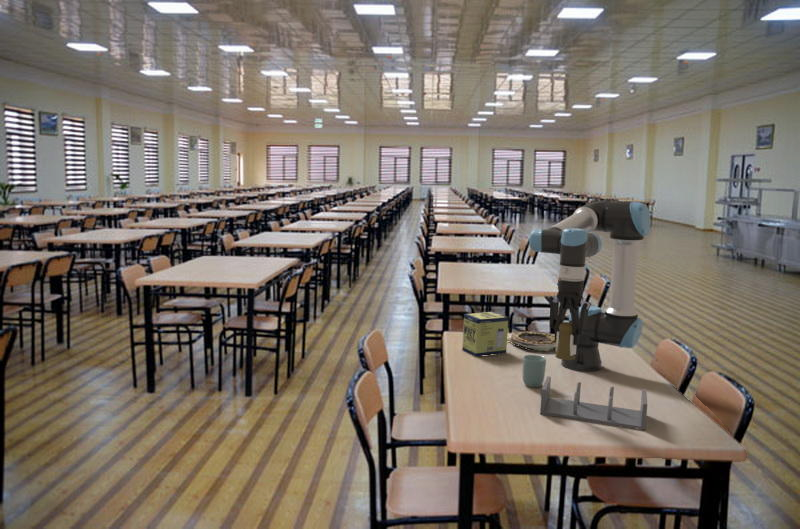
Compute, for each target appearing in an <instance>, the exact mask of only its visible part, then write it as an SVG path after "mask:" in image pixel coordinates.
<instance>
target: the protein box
mask: <svg viewBox="0 0 800 529" xmlns="http://www.w3.org/2000/svg"><path fill="white" fill-rule="evenodd" d="M462 327H463V329H462V330H463V332H462V350H461V351H463V350H464V351H463V352H465V351H466V352H465V353H467V352H468V353H467V354H469V353H470V354H469V355H471V354H472V355H471V356H473V355H474V356H473V357H475V356H479V357H483V356H482V355H488V356H492V355H491V354H496V355H503V354H502V353H505V354H507V347H508V346H507V345H508V343H507V339H508V329H509V317H508V316H506V315H504V314H501V313H498V312H496V311H487V312H486V311H484V312H476V313H463V326H462ZM499 353H500V354H499Z"/></svg>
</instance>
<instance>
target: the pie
mask: <svg viewBox="0 0 800 529" xmlns="http://www.w3.org/2000/svg"><path fill="white" fill-rule="evenodd" d="M554 337H555V334H552V333H549V332H546V333H543V332H539V331H533V330H525V331H519V332H514V333H512V334H509V335H508V337H507V341H510V342H512V343H513V344H512V343H511V344H512V345H514V344H515V345H514V346H516V345H519V346H521V347H523V348H522V349H525V348H527V349H526V350H528V349H530V350H529V351H531V350H537V351H536V352H543V351H549V350H552V349H554V348H555V349H556V340H555V339H554ZM510 342H509V343H510ZM519 346H518V347H519ZM521 347H520V348H521ZM555 349H554V350H555ZM552 351H553V350H552ZM549 352H550V351H549Z"/></svg>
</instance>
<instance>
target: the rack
mask: <svg viewBox="0 0 800 529" xmlns="http://www.w3.org/2000/svg"><path fill="white" fill-rule="evenodd" d="M543 383H544V384H543V386H542V388H541V398H540V409H539V411H540V412H539V415H543V416H550V417H557V418H561V419H562V418H563V419H568V420H576V421H582V422H588V423H593V424H594V423H595V424H599V425H606V424H607V426H612V425H614V427H619V426H622V427H621V428H625V427H630V428H629V429H632V428H638V429H645V430H646V422H647V413H648V394H647V393H648V392H647V389H642V390H641V398H640V400H641V401H640V410H638V409H631V408H624V407H619V406H618V407H617V406H613V403H614V390H615V386H609V394H608V404H607V405H602V404H599V403H598V404H596V403H590V402H583V401H581V389H582V388H581V387H582V382H580V381H577V382H576V391H574V395H573V400H571V399H570V400H569V399H564V398H563V399H562V398H556V397H551V383H552V376H549V375H548V376H546V379H545V381H544V382H543ZM638 429H637V430H638Z"/></svg>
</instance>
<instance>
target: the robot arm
mask: <svg viewBox="0 0 800 529" xmlns="http://www.w3.org/2000/svg"><path fill="white" fill-rule="evenodd" d="M572 213H573V214H572V215H570V216H568V217H566V218H564V219H563V220H561V221H559V222H558V223H555V224H554V225H552V226H550V227H549V228H547V229H543V228H538V229H537V228H535V229H533V230H532V231H531V233H530V235H529V241H528V242H529V248H530V250H531V251H533V252H537V253H540V254H541V253H544V254H545V253H546V254H553V255H559V256H560V258H559V268H558V269H559V271H558V277H559V279H558V284H557V290H558V292H557V293H556V295H552V296H549V297H548V300H549V304H550V305H549V328H552V329H553V330H554V336H555V337H554V339H555V340H556V347H555V352H556V351H557V346H558V341H559V336H560V331H559V325H560V324H561V323H563V322H564V321H565V318H566V314H567V310H569V319H568V322H569V323H572V328H573V334H571V336H570V356H572V355H575V359H574V360H562V359H560V360H561V362H560V364H561V365H562V366H563V367H564V368H567V369H570V370H573V371H580V372H596V371H600V370H601V369H602V365H603V364H602V363H603V362H602V359H601V354H600V350H599V345H600V344H603V345H606V346H607V345H609V346H614V347H619V348H622V349H623V348H625V349H633V348H634V347H636V346H637V344H638V342H639V340H640V337H641V335H642V331H643V325H644V324H643V323H644V322H643V319H642V318H640V317H639V311H637V310H636V308H635V298H636V284H637V271H638V269H637V268H638V258H639V246H640V243H641V242H643V241H644V238H645V237H646V236H648V235H649V233H650V230H651V225H652V224H651V222H652V220H651V214H650V210H649V207H648V206H647V204H645V203H643V202H637V201H623V200H622V201H619V200H618V201H617V200H598V201H594V202H591V203H587V204H585V205H583V206H580V207H579V208H577V209H575V211H574V212H572ZM593 232H603V233H609V234H610V235H609V239H610V240H611V241H612V243H613V249H612V250H613V252H612V264H611V265H612V267H611V268H612V269H611V280H610V282H611V283H610V297H609V306H608V307H606V308H605V310H604V312H603V311H602V308H601V307H599V306H591V305H592V303H591V302H590V301H589V302H587V301H586V300H584V297H583V292H584V284H585V283H584V281H583V280H584V279H585V269H586V258H591V257H594V256H595V255H598V253H600V251H601V249H602V247H603V246H602V239H601V238H600V237H599V235H598V234H596V233H593ZM558 303H559V304H558ZM558 305H559V307H558Z"/></svg>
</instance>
